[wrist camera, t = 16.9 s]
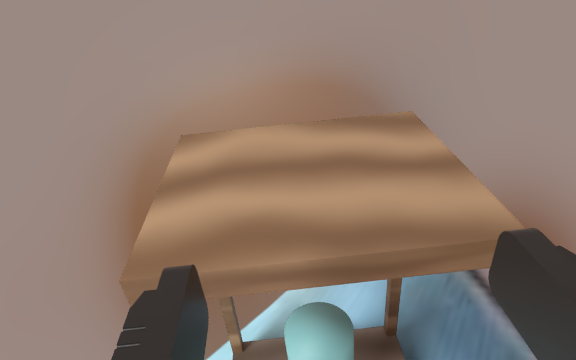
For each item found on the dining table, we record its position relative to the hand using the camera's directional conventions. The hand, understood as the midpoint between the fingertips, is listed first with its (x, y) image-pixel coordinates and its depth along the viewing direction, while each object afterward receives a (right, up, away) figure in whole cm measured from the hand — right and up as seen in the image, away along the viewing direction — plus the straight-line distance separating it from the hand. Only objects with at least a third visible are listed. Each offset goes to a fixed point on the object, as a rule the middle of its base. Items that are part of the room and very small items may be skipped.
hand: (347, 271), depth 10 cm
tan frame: (+2, -20, +24) cm, 32 cm away
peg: (+2, -20, +24) cm, 32 cm away
